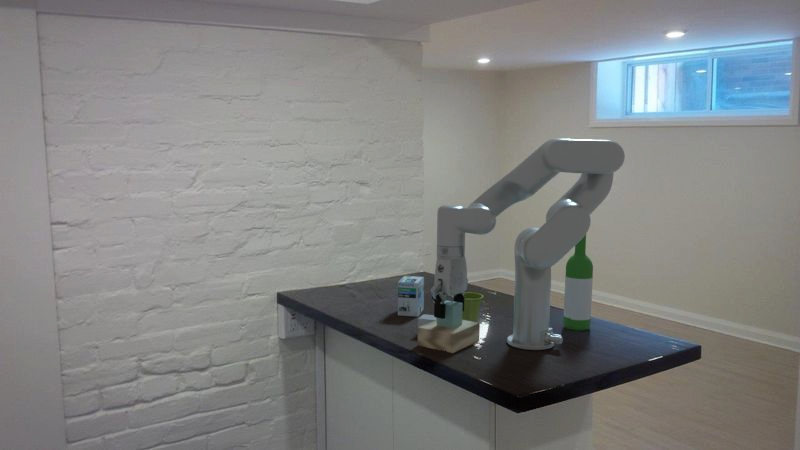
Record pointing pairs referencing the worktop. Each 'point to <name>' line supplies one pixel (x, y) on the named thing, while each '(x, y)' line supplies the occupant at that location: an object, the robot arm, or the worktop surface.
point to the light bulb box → (410, 296)
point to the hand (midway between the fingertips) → (449, 314)
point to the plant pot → (471, 306)
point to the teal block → (451, 315)
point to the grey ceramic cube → (425, 319)
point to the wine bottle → (578, 289)
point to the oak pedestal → (448, 336)
